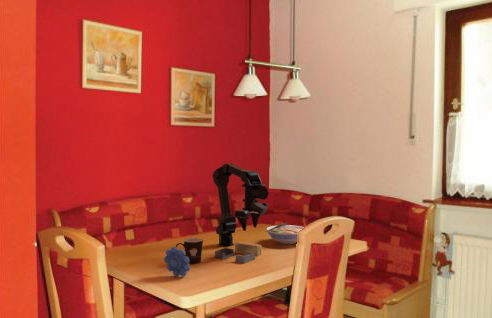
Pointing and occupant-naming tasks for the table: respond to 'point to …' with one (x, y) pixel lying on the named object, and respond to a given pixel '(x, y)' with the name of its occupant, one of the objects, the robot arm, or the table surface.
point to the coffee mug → (193, 249)
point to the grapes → (177, 261)
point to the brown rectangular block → (247, 248)
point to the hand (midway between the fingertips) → (249, 229)
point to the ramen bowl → (284, 233)
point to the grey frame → (230, 252)
